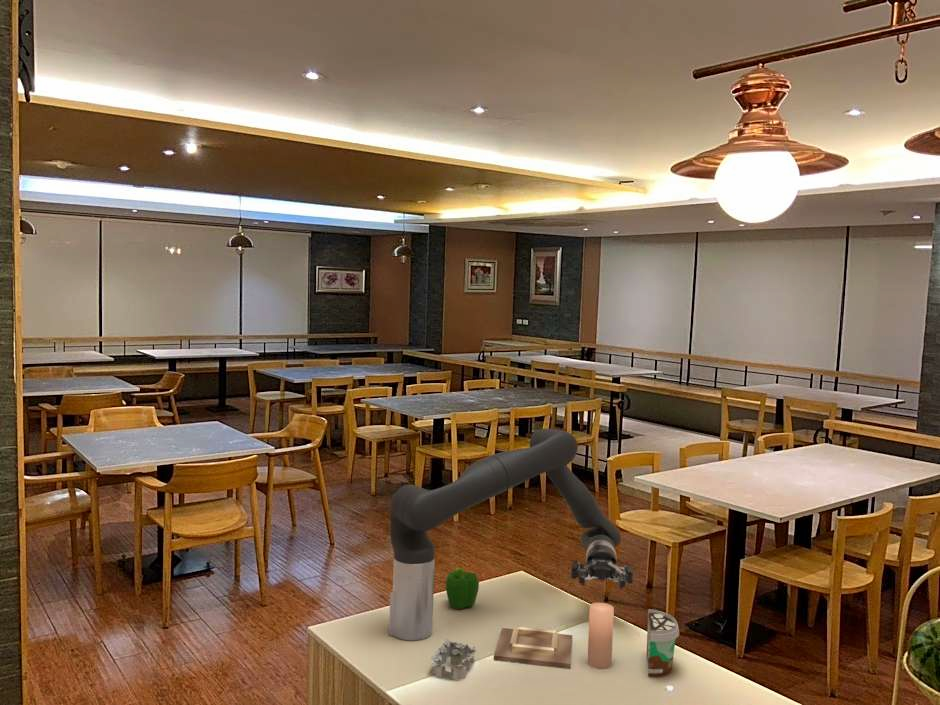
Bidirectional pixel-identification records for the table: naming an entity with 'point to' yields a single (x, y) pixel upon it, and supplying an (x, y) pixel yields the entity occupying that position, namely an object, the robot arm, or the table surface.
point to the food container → (660, 643)
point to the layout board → (534, 647)
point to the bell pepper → (461, 588)
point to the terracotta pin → (600, 635)
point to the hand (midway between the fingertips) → (602, 583)
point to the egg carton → (453, 660)
